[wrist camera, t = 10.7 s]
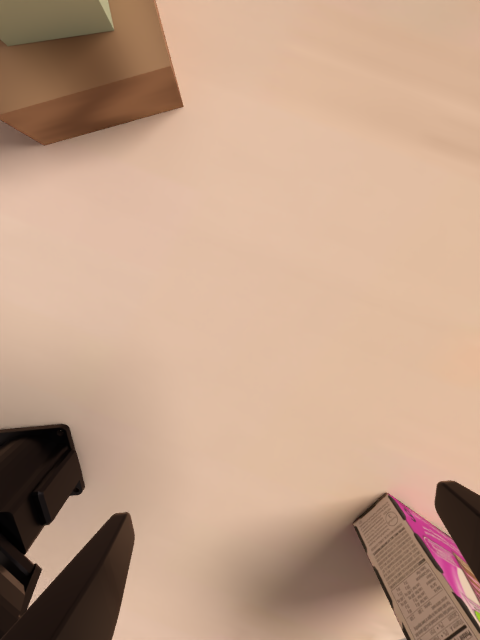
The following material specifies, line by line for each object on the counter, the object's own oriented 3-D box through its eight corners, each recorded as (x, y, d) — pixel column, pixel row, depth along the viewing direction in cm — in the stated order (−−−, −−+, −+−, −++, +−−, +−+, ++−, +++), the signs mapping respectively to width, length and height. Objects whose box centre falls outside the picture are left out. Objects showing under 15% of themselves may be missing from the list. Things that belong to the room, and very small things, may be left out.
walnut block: (48, 147, 17) (-6, 116, 13) (-22, -31, 15) (-112, -134, 11) (184, 109, 17) (171, 65, 13) (134, -78, 14) (100, -200, 11)
